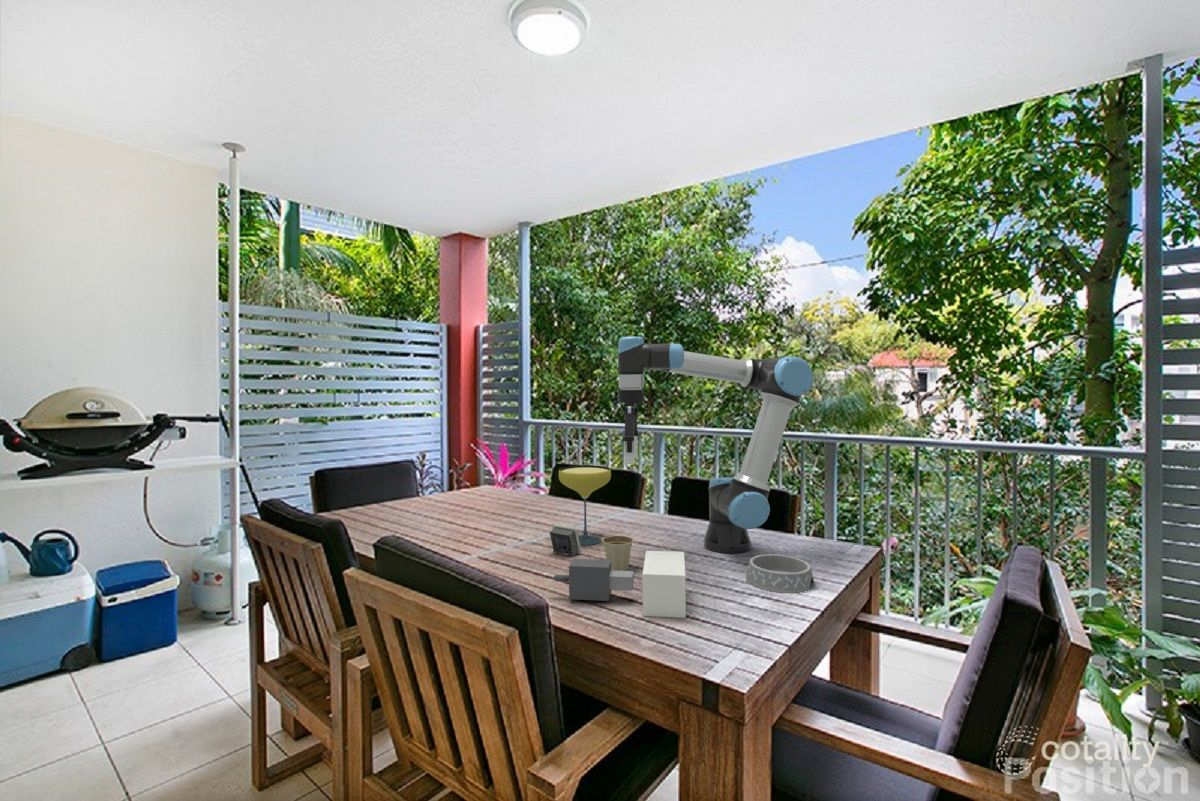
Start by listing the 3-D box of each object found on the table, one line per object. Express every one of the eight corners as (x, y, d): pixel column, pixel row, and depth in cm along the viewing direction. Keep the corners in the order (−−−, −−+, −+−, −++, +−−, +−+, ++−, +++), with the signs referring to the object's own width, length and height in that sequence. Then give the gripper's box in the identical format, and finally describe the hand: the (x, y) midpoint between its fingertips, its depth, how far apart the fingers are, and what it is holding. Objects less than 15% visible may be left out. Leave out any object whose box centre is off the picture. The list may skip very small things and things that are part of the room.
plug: (633, 592, 143) (633, 560, 142) (632, 601, 137) (631, 568, 136) (556, 589, 145) (555, 557, 145) (551, 598, 139) (550, 565, 139)
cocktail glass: (570, 551, 180) (569, 475, 179) (552, 537, 197) (551, 467, 196) (620, 544, 187) (619, 471, 186) (599, 531, 204) (598, 463, 203)
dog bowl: (817, 576, 156) (817, 557, 156) (807, 599, 140) (807, 578, 140) (756, 567, 164) (756, 549, 164) (740, 587, 148) (740, 568, 148)
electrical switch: (582, 554, 177) (580, 526, 176) (572, 560, 173) (570, 531, 172) (558, 549, 183) (556, 522, 181) (549, 555, 178) (547, 527, 177)
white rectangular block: (684, 588, 147) (683, 551, 147) (685, 617, 129) (685, 575, 129) (646, 587, 148) (646, 550, 148) (642, 615, 130) (642, 574, 130)
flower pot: (638, 565, 166) (638, 537, 165) (626, 576, 157) (626, 546, 157) (610, 561, 170) (609, 533, 169) (596, 571, 161) (596, 542, 161)
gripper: (622, 388, 177) (622, 454, 177) (614, 390, 152) (614, 466, 153) (645, 388, 176) (646, 454, 176) (641, 389, 151) (641, 467, 152)
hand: (631, 460), depth 165 cm, fingers open, 13 cm apart
